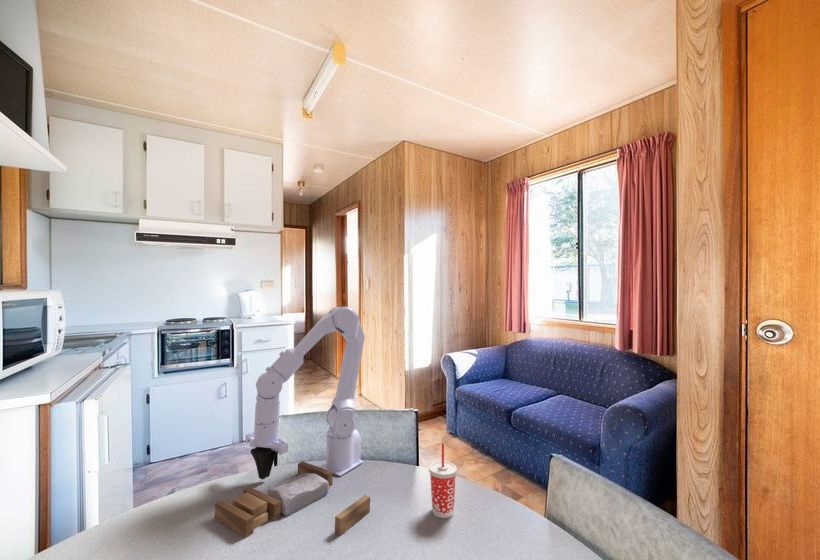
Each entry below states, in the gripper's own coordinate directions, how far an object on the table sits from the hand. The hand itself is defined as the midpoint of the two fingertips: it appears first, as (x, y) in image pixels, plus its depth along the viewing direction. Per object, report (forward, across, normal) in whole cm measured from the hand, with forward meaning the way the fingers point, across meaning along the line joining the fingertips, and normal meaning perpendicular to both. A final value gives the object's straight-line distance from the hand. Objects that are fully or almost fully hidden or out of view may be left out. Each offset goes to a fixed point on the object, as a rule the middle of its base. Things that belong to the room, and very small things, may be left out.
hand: (264, 477), depth 82 cm
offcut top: (0, +10, -10) cm, 15 cm away
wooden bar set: (+1, +17, -3) cm, 17 cm away
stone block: (+2, +12, 0) cm, 12 cm away
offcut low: (+2, +10, -11) cm, 15 cm away
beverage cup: (+1, +43, +13) cm, 45 cm away
